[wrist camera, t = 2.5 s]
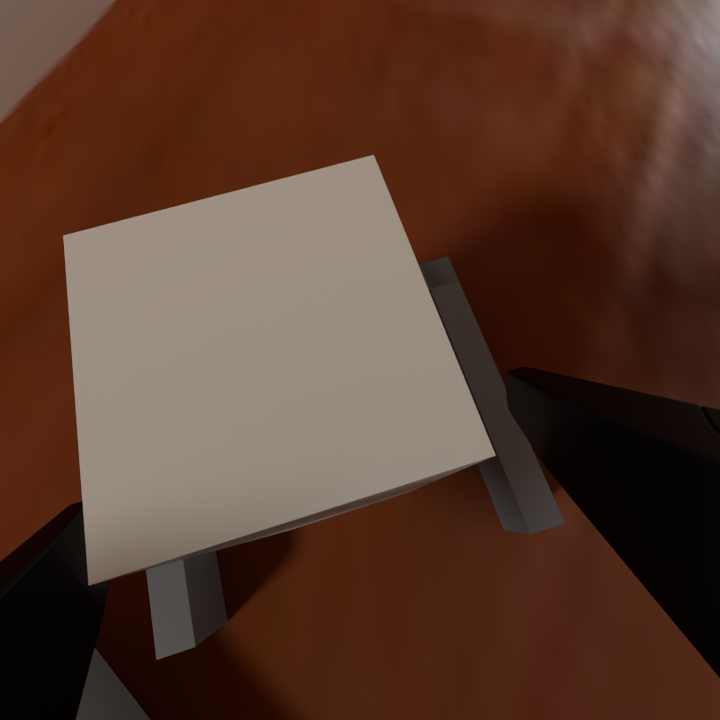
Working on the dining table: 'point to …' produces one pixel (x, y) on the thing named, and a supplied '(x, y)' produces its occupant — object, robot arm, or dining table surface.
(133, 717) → the tray
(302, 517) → the tall beige block
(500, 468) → the bay
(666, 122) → the dining table surface
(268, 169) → the dining table surface
